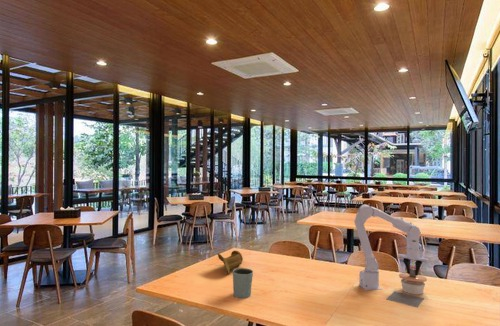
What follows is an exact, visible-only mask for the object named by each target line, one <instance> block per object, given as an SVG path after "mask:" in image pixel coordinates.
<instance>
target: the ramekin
mask: <svg viewBox="0 0 500 326" xmlns="http://www.w3.org/2000/svg"><path fill="white" fill-rule="evenodd" d="M400 283H401V288H402V291H403V292H405V293H406V294H407V293H408V294H410V295H422V294H423V293H424V289H425V285H426V284H425V282H414V281H408V280H405V279H402V278H401V281H400Z"/></svg>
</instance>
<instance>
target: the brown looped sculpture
mask: <svg viewBox="0 0 500 326" xmlns="http://www.w3.org/2000/svg"><path fill="white" fill-rule="evenodd" d="M217 257H218V259H219V261H221V262H223V266H224V268H225V271H226V273H227V275H230V271H231V270H232V269H235V267H238V266H241V265H242V264H243V262H244V261H243V260H244V257H243V255H242V253H241V252H240V251H238V250H233V251H231V254H230V255H229V256H227V257H224V256H223V255H222V254H221V253H217Z"/></svg>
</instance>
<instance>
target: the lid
mask: <svg viewBox="0 0 500 326" xmlns="http://www.w3.org/2000/svg"><path fill="white" fill-rule="evenodd" d="M415 273H416V269H414V268H409V274H408V273H407V272H402V273H399V274H398V277H399V278H400V279H401V280H402V279H405V280H408V281H414V282H424V283H425V282H427V280H428V279H427V277H426V276H424V275H420V274H419V275H417V276H416V274H415Z"/></svg>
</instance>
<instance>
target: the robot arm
mask: <svg viewBox="0 0 500 326" xmlns="http://www.w3.org/2000/svg"><path fill="white" fill-rule="evenodd" d="M371 217H372V218H375V217H376V218H377V217H378V218H380V219H383V220H384V221H387V222H389V223H391V224H392V227H393V228H395V229H397V230H398V231H401V232H403V233H406V254H403V253H397V258H398V259H403V264H404V265H405V267H406V269H407V272H406V273H408V274H409V268H410V265H411V261H413V260H414V266H416V273H415V274H416V276H417V275H418V272H419V269H421V266H422V264H423V263H425V264H429V263H430V262H429V260H430V259H429V258H426V257H423V256H420V235H421V232H422V231H421V230H420V228H419V227H418V226H417V225H415V224H413V222H411V221H410V222H409V221H408V220H405V219H404V218H403V217H402V216H401V217H399V216H398V217H393V216H391V215H390V214H388V213H386V212H384V211H383V210H380V209H379V208H376V207H374V206H371V205H369V204H365V203H364V204H362V205H360V206H359V208H358V209H357V213H356V215H355V218H354V222H353V223H354V225H355V229H356V232H357V236H358V239H359V241H360V245H361V248H362V251H363V255H364V258H365V259H364V264H365V267H364V270H360V271H359V274H358V275H359V278H358V279H359V283H358V285H359V286H360V287H361V288H363V290H366V291H367V290H369V291H370V290H372V291H373V290H383V288H382V287H381V286H379V285H380V283H379V281H380V279H379V278H380V277H379V276H380V274H379V273H380V271H379V268H380V265H379V263H378V261H377V259H376V257H375V256H374V253H373V249H372V247H371V242H370V240H369V237H368V234H367V229H366V227H365V223H366V221H367V220H368V219H370V218H371Z"/></svg>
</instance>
